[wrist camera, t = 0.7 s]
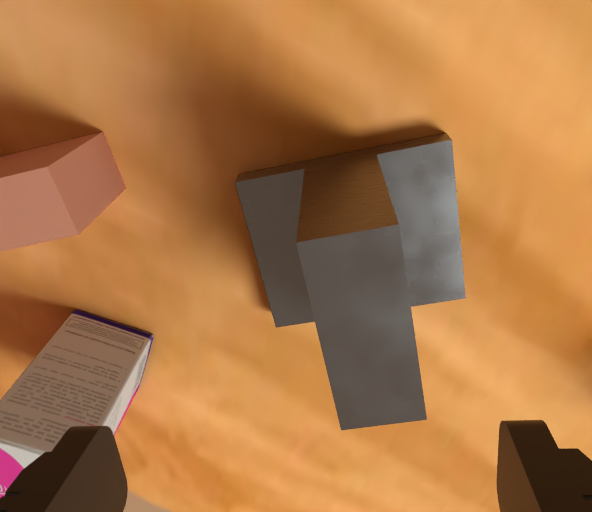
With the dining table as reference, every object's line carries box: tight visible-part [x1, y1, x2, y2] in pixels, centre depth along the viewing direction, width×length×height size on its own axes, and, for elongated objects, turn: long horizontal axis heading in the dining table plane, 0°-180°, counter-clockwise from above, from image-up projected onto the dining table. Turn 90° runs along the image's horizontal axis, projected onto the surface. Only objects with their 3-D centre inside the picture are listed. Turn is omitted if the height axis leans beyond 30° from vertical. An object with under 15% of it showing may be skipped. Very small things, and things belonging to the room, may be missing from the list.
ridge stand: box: [235, 133, 466, 430], centre depth 27 cm, size 10×12×11 cm
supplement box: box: [0, 310, 153, 498], centre depth 32 cm, size 6×6×12 cm
